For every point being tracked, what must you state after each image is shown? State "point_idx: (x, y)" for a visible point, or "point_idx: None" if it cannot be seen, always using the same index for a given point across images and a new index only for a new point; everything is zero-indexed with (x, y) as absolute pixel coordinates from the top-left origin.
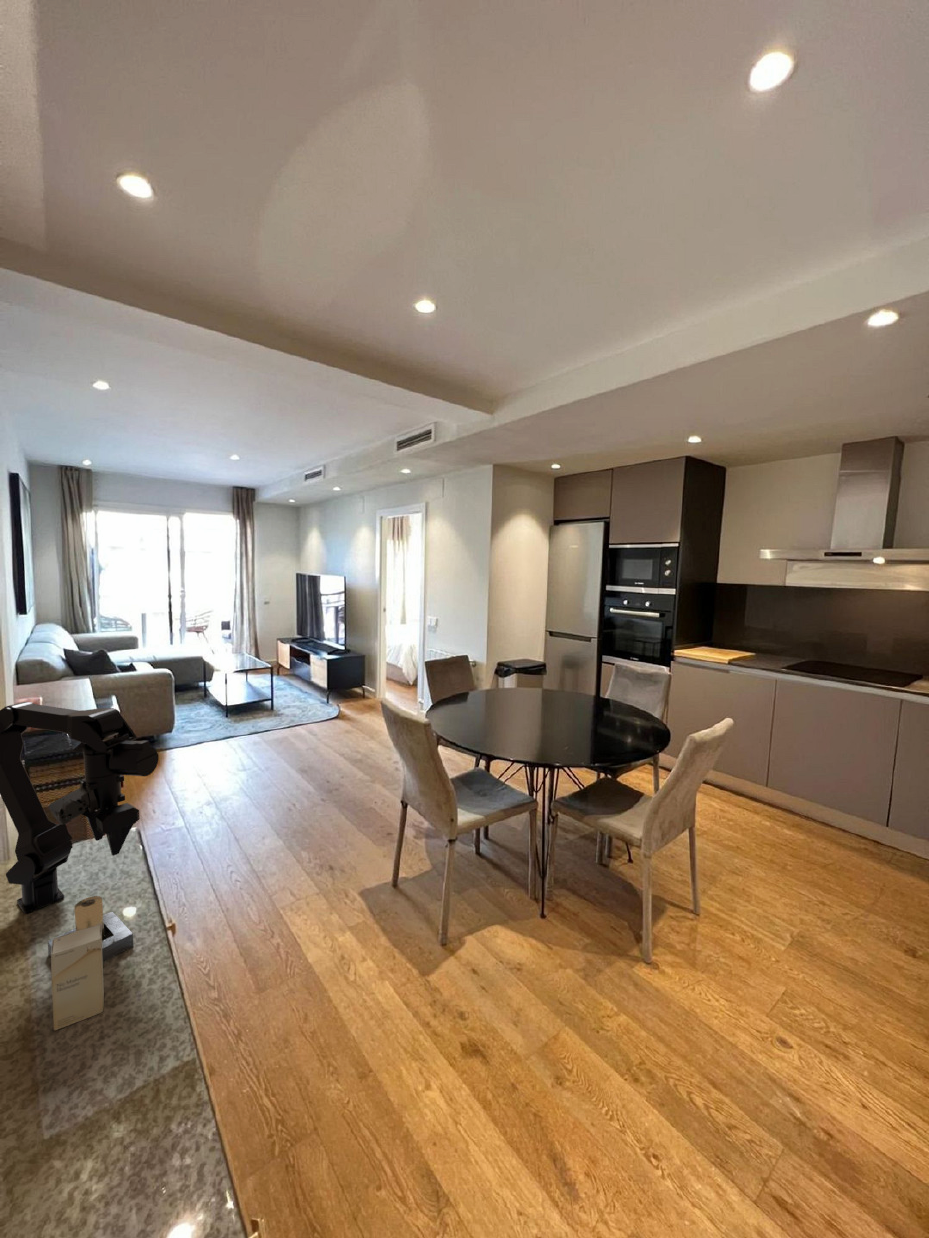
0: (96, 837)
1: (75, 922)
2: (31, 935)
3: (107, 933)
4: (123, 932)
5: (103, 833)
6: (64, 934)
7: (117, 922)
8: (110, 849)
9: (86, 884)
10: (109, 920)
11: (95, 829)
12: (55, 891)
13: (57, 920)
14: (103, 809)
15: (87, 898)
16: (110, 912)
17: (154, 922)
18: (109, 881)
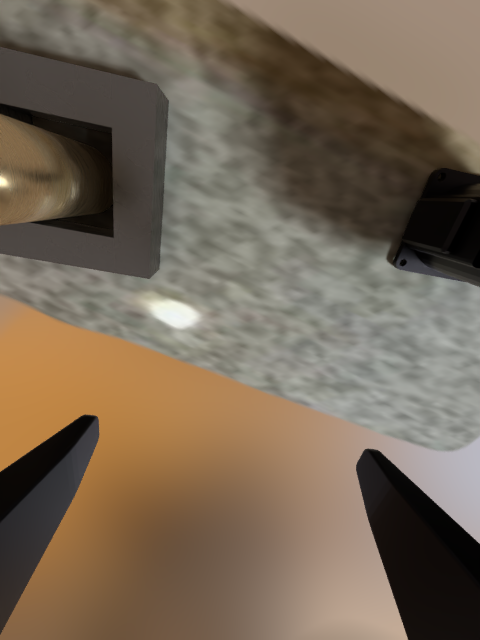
0: (374, 467)
1: (7, 116)
2: (311, 123)
3: (90, 229)
4: (9, 240)
5: (364, 502)
6: (147, 138)
7: (76, 257)
8: (64, 445)
9: (393, 323)
10: (108, 251)
11: (412, 528)
12: (428, 258)
13: (310, 203)
14: None
15: (4, 187)
16: (147, 273)
17: (77, 317)
18: (346, 353)
